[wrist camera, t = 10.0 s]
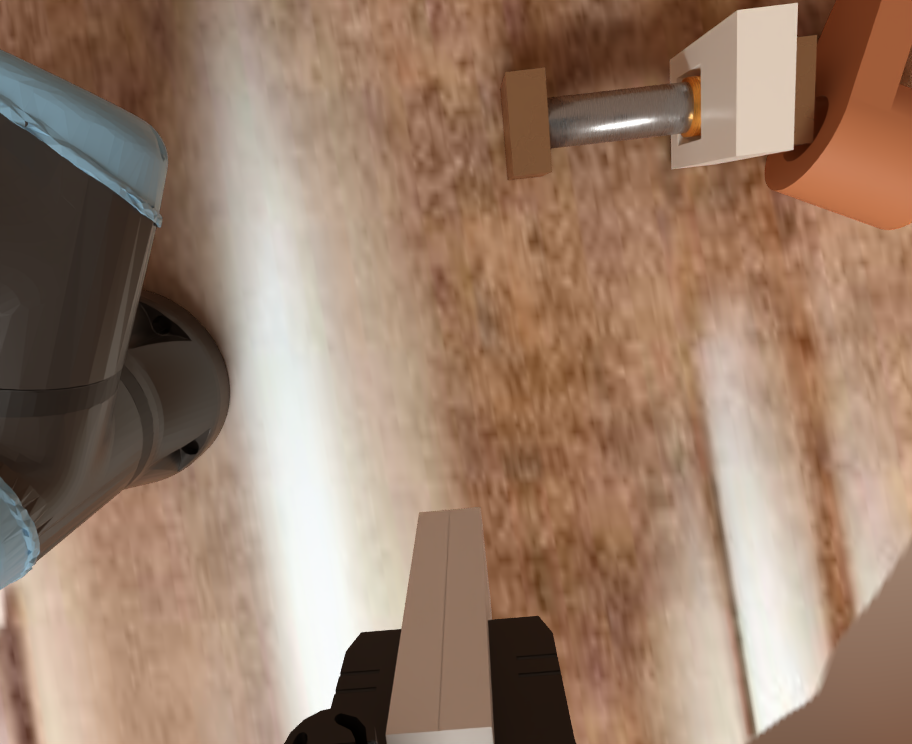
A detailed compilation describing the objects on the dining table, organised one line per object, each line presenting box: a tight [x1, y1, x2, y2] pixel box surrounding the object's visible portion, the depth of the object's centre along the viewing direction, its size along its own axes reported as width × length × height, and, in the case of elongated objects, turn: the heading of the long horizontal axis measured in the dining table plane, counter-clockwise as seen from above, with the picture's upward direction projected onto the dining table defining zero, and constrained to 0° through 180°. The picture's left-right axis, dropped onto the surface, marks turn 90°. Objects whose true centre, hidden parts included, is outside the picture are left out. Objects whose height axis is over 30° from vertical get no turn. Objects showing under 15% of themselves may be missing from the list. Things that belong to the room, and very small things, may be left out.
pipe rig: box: [500, 35, 817, 180], centre depth 40 cm, size 18×6×6 cm, turn 96°
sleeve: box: [670, 3, 798, 169], centre depth 37 cm, size 3×7×11 cm, turn 6°
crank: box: [765, 0, 912, 230], centre depth 38 cm, size 20×8×8 cm, turn 162°
